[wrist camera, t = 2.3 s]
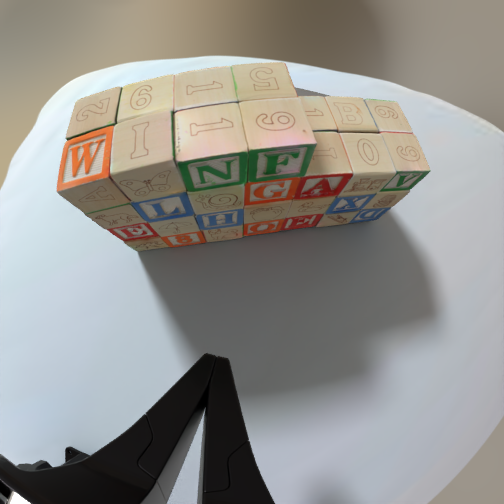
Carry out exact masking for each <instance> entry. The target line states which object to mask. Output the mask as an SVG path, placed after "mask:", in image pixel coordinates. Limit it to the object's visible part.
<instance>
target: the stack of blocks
mask: <svg viewBox="0 0 504 504" xmlns="http://www.w3.org/2000/svg"><path fill="white" fill-rule="evenodd" d="M66 139H67V141H66V142H65V145H64V148H63V153H62V158H61V163H60V169H59V175H58V182H57V193H58V194H59V195H61V196H62V197H63V198H65V199H66V200H67V201H69V202H70V203H71V204H73V205H74V206H75V207H77V208H78V209H80V210H81V211H82V212H83V213H84V214H85V215H86V216H87V217H89V218H91V219H92V221H94V222H96V223H97V224H98V225H99V226H101V227H102V228H104V229H107V230H108V231H109V232H111V233H112V234H113V235H115V236H116V237H118V238H119V239H121V240H123V241H124V243H125V244H127V245H128V246H129V247H131V248H132V249H134V250H136V251H144V250H151V249H158V248H165V247H179V246H186V245H193V244H200V243H206V242H215V241H223V240H230V239H237V238H242V237H244V236H250V235H256V234H264V233H271V232H278V231H280V230H290V229H298V228H306V227H313V226H315V227H324V226H332V225H341V224H347V223H355V222H363V221H371V220H377V219H378V218H379V217H381V216H382V215H383V214H384V213H385V212H387V211H388V210H389V209H390V208H391V207H393V206H394V205H395V204H397V203H398V202H399V201H400V200H401V199H403V198H404V197H405V196H406V195H407V194H408V193H409V192H410V189H412V188H413V187H414V186H415V185H416V184H417V183H418V182H419V181H420V180H422V179H423V178H424V177H425V176H426V175H427V174H428V173H429V172H430V168H429V165H428V163H427V161H426V158H425V156H424V154H423V151H422V149H421V147H420V145H419V142H418V140H417V138H416V136H415V135H414V134H413V132H412V129H411V127H410V125H409V123H408V121H407V119H406V117H405V116H404V114H403V112H402V110H401V108H400V106H399V104H398V103H397V102H395V101H386V100H376V99H363V98H356V97H335V96H326V97H322V96H298V95H297V92H296V90H295V88H294V85H293V83H292V80H291V78H290V75H289V72H288V69H287V67H286V64H285V63H254V64H241V65H232V66H225V67H214V68H207V69H201V70H194V71H188V72H183V73H179V74H176V75H174V74H172V75H166V76H162V77H157V78H153V79H148V80H144V81H140V82H136V83H132V84H129V85H126V86H124V87H123V88H122V87H116V88H112V89H109V90H106V91H103V92H99V93H96V94H93V95H90V96H87V97H84V98H82V99H79V100H78V101H76V103H75V106H74V110H73V113H72V116H71V120H70V123H69V127H68V130H67V134H66Z"/></svg>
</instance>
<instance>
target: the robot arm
mask: <svg viewBox="0 0 504 504" xmlns="http://www.w3.org/2000/svg"><path fill="white" fill-rule="evenodd" d="M205 407H206V408H205ZM204 411H205V415H204V424H203V435H202V446H201V458H200V471H199V484H198V499H197V504H275V503H274V501H273V499H272V497H271V495H270V493H269V491H268V489H267V487H266V484H265V482H264V480H263V478H262V476H261V474H260V471H259V469H258V466H257V464H256V461H255V458H254V455H253V452H252V448H251V445H250V441H248V440H249V438H248V434H247V430H246V427H245V423H244V419H243V415H242V411H241V407H240V403H239V399H238V395H237V391H236V387H235V382H234V378H233V374H232V370H231V365H230V361H229V359H228V358H225V357H220V356H218V357H216V356H215V355H212V354H208V353H205V354H204V355H203V356H202V357H201V358H200V359H199V360H198V361H197V362H196V363H195V364H194V365H193V366H192V367H191V368H190V369H189V370H188V371H187V372H186V373H185V374H184V375H183V376H182V377H181V378H180V379H179V380H178V381H177V382H176V383H175V384H174V385H173V386H172V387H171V388H170V389H169V390H168V391H167V392H166V393H165V394H164V395H163V396H162V397H161V398H160V399H159V400H158V401H157V402H156V403H155V404H154V405H153V406H152V407H151V408H150V409H149V410H148V411H147V412H146V415H145V414H144V415H143V416H142V417H141V418H140V419H139V420H138V421H137V422H136V423H135V424H133V425H132V426H131V427H130V428H129V429H128V430H126V431H125V432H124V433H123V434H121V435H120V436H119V437H117V438H116V439H114V440H113V441H112V442H110V443H109V444H107V445H106V446H104V447H103V448H101V449H100V450H98V451H97V452H95V453H94V454H92V455H91V456H90V455H88V454H86V453H83V452H80V451H78V450H76V449H74V448H73V447H67V448H66V449H65V463H64V464H63V465H61V466H58V467H52V466H51V465H50V464H49V463H48V462H47V461H43V460H40V461H38V462H36V463H34V464H32V465H31V464H19V465H18V466H16V465H15V464H13V463H12V462H11V461H9V460H8V459H7V458H5V457H4V456H3V455H1V454H0V504H167V501H168V499H169V497H170V494H171V492H172V490H173V487H174V485H175V482H176V480H177V478H178V475H179V473H180V470H181V468H182V465H183V463H184V461H185V458H186V456H187V453H188V451H189V448H190V446H191V443H192V441H193V438H194V436H195V434H196V431H197V429H198V426H199V424H200V421H201V419H202V416H203V413H204ZM70 451H71V452H72V453H71V452H70Z"/></svg>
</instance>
